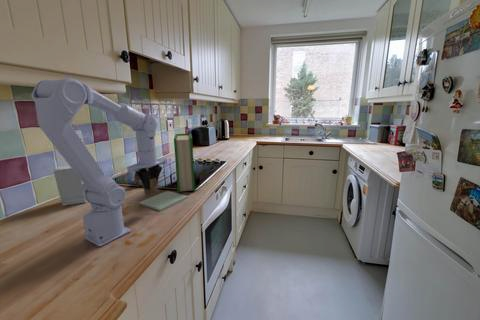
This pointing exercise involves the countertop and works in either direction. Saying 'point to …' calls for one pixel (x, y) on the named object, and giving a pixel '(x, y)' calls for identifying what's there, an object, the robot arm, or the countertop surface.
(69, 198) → the skincare box
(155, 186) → the walnut block
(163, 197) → the tray
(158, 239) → the countertop surface
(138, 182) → the tin
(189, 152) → the hardback book
